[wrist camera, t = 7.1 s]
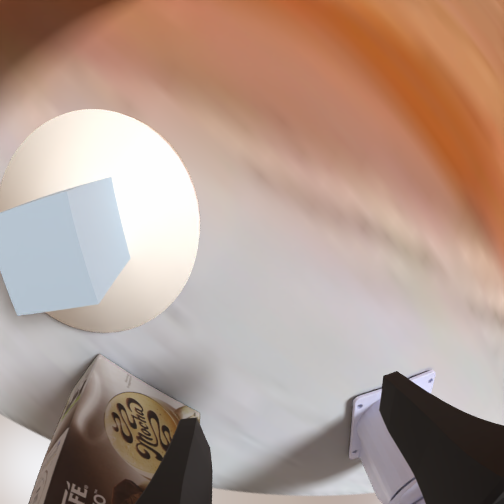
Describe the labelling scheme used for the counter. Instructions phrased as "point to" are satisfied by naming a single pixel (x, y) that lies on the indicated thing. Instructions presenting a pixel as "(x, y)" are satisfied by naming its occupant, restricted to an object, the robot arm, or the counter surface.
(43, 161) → the saucer
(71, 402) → the coffee box
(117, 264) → the block
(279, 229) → the counter surface
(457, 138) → the counter surface
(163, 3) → the counter surface
